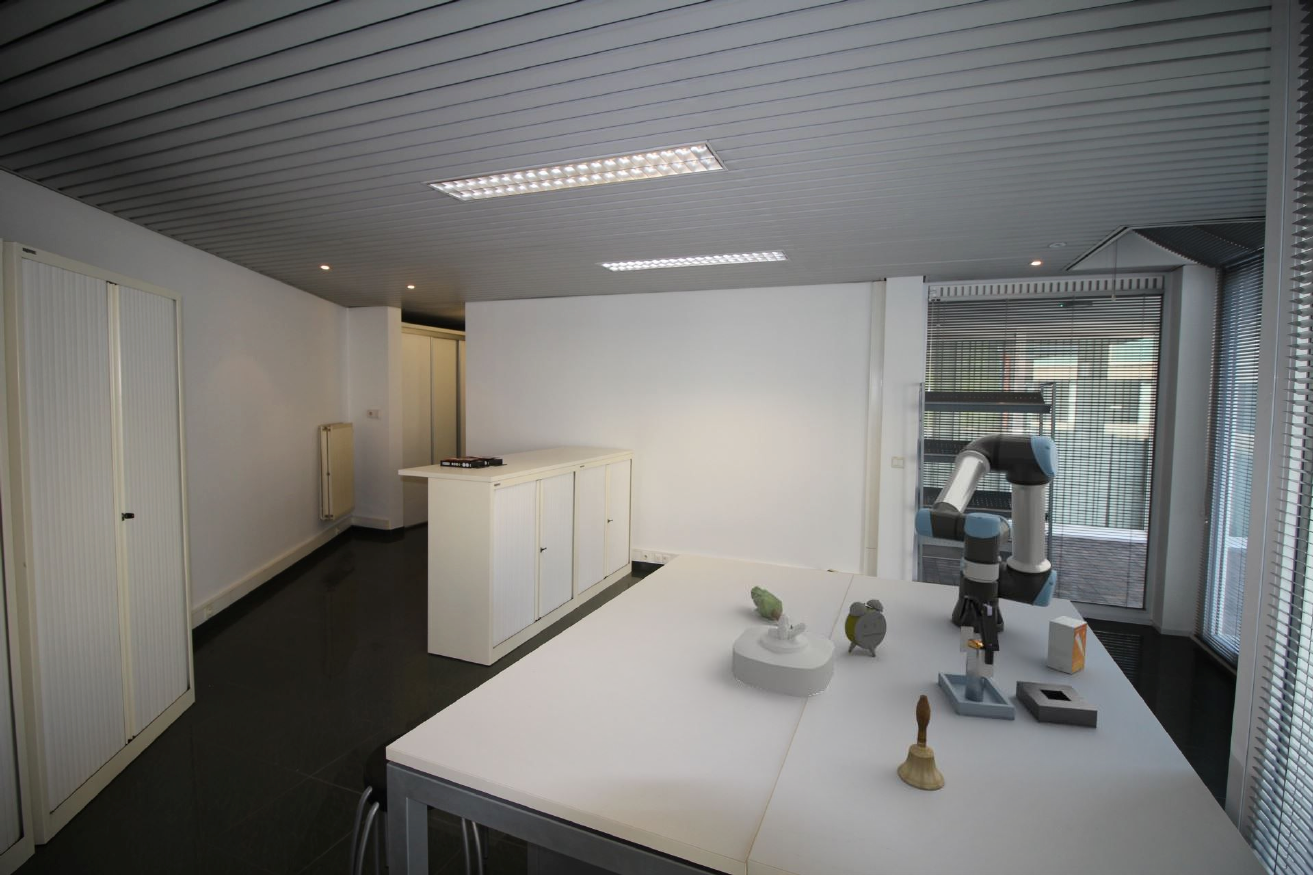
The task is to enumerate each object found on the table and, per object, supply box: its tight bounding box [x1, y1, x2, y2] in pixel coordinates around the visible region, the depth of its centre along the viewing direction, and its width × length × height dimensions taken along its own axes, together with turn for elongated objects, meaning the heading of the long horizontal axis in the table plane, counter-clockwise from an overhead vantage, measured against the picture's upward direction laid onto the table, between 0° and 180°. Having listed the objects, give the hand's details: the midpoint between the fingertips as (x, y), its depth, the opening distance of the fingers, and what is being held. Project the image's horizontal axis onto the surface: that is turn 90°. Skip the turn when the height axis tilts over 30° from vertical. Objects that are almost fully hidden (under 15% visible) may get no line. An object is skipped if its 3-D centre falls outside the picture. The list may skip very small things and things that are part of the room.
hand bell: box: [897, 694, 945, 791], centre depth 115 cm, size 8×8×16 cm
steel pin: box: [965, 638, 984, 702], centre depth 145 cm, size 4×4×14 cm
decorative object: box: [750, 585, 794, 629], centre depth 198 cm, size 9×10×25 cm
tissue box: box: [731, 612, 836, 698], centre depth 160 cm, size 25×25×16 cm
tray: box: [937, 671, 1016, 721], centre depth 146 cm, size 16×12×3 cm
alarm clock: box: [844, 598, 888, 657], centre depth 172 cm, size 12×7×15 cm, turn 112°
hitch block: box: [1015, 680, 1098, 729], centre depth 141 cm, size 12×12×4 cm
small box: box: [1046, 615, 1088, 675], centre depth 165 cm, size 8×6×13 cm
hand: (975, 663), depth 145 cm, fingers open, 13 cm apart
